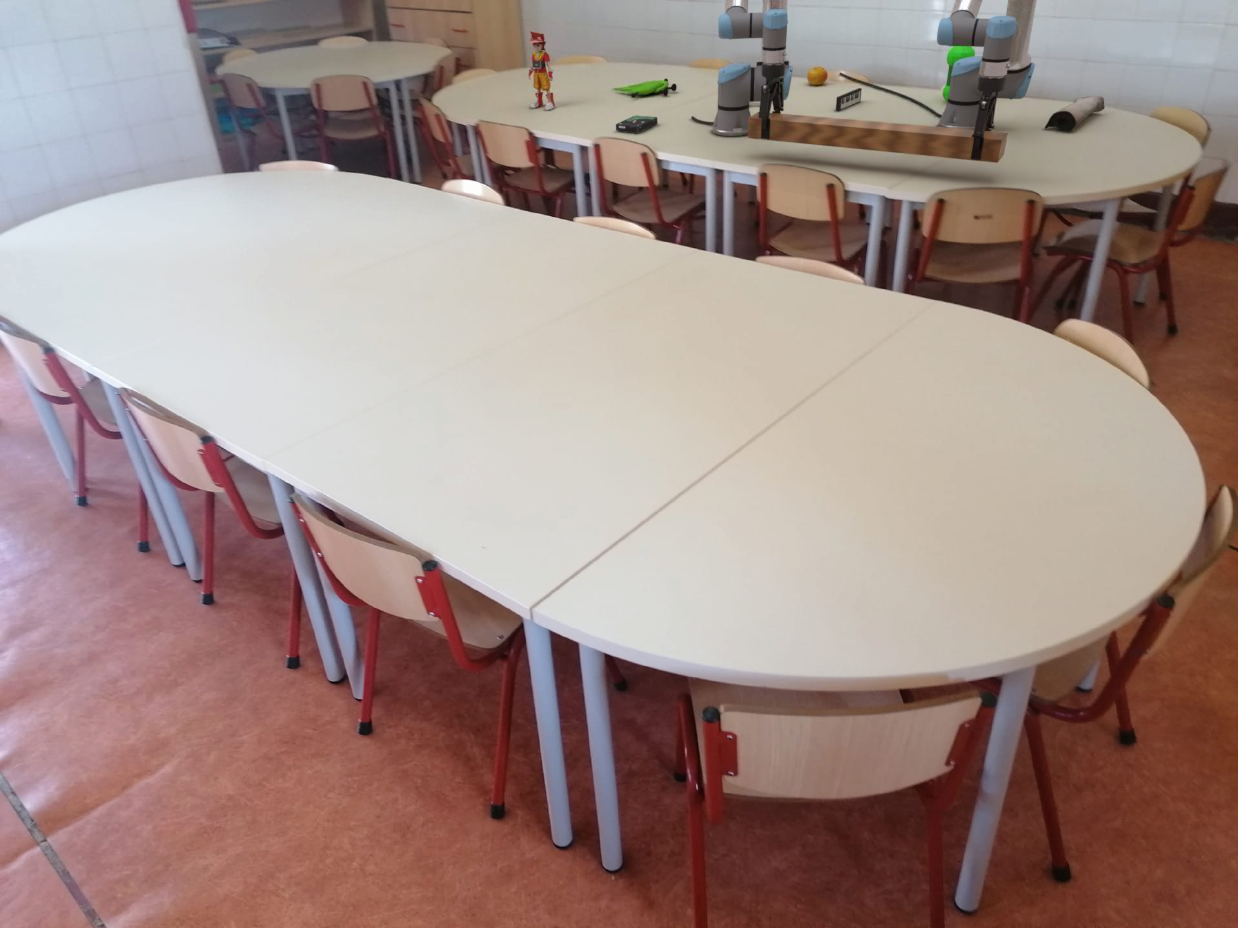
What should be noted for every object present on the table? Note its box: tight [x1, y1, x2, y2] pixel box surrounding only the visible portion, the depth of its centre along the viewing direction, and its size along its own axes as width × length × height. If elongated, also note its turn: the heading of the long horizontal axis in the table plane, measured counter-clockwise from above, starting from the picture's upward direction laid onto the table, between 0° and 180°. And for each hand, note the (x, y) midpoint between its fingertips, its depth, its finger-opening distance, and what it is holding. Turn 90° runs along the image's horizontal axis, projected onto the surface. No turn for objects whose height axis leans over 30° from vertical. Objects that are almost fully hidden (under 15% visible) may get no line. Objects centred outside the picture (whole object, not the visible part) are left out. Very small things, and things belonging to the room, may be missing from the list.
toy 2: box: [612, 78, 677, 99], centre depth 396 cm, size 28×5×30 cm
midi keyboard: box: [835, 87, 863, 112], centre depth 357 cm, size 18×1×5 cm, turn 138°
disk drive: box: [615, 114, 658, 134], centre depth 347 cm, size 10×3×15 cm
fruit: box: [806, 66, 829, 86], centre depth 389 cm, size 8×8×8 cm
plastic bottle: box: [942, 46, 976, 103], centre depth 348 cm, size 10×10×25 cm
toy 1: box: [527, 31, 556, 111], centre depth 374 cm, size 12×9×30 cm
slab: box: [747, 111, 1009, 164], centre depth 287 cm, size 81×8×7 cm, turn 59°
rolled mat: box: [1044, 95, 1106, 133], centre depth 322 cm, size 30×9×10 cm
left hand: (770, 135), depth 303 cm, fingers closed on slab, 8 cm apart
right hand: (978, 155), depth 273 cm, fingers closed on slab, 8 cm apart
